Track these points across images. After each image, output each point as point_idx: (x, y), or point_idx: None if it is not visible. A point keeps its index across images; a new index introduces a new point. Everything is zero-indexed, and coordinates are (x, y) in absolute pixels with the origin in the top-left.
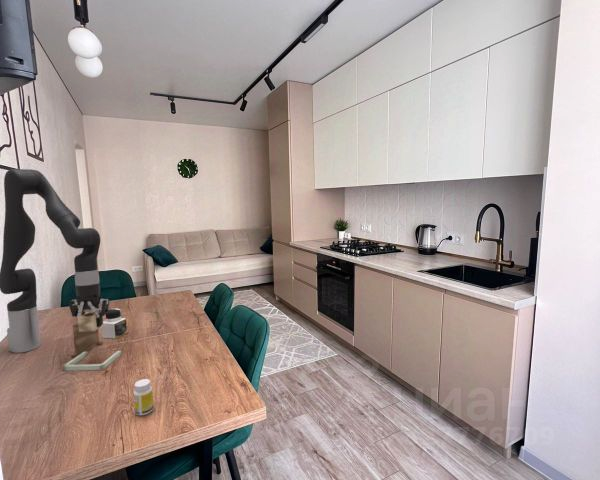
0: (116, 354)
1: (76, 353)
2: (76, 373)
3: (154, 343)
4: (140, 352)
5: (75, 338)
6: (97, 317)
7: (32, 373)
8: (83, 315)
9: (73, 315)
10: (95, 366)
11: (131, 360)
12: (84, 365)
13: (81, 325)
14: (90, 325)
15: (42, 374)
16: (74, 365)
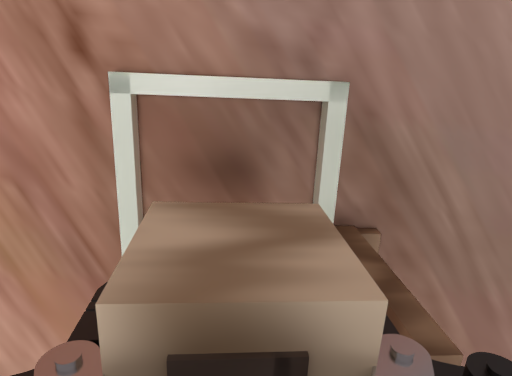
0: (119, 216)
1: (355, 235)
2: (245, 40)
3: (17, 363)
4: (28, 266)
5: (391, 283)
6: (85, 342)
7: (482, 66)
8: (328, 369)
9: (495, 362)
10: (155, 74)
11: (17, 174)
12: (225, 84)
13: (301, 231)
14: (182, 230)
15: (425, 48)
16: (285, 90)
